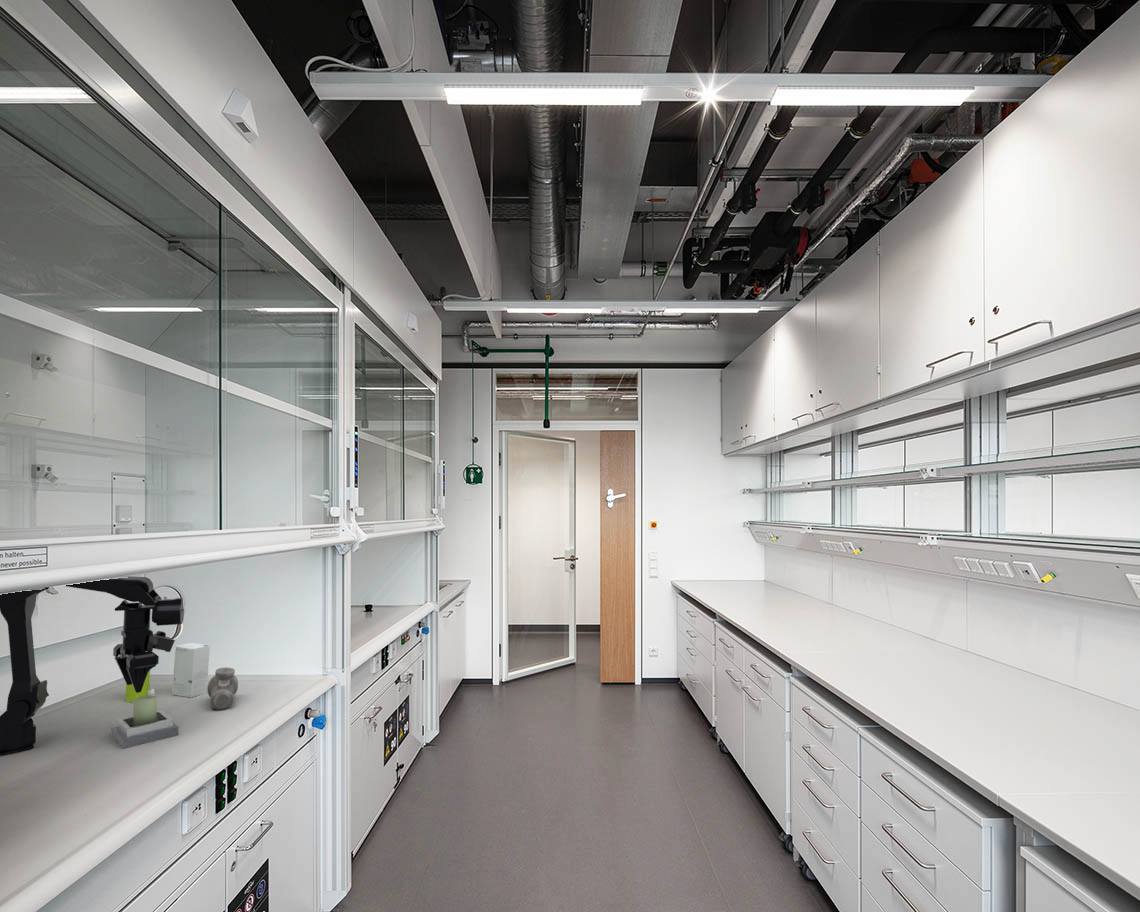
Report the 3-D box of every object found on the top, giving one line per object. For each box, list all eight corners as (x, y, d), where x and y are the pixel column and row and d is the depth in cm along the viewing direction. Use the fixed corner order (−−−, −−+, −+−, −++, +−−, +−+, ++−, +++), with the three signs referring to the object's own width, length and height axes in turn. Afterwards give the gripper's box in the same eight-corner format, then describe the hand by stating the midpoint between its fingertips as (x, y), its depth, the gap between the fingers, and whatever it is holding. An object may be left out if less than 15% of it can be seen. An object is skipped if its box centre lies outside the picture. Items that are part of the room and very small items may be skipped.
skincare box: (171, 695, 199) (172, 646, 200) (189, 689, 205) (190, 641, 206) (192, 698, 196) (193, 648, 197) (209, 692, 202) (210, 643, 203)
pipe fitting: (206, 698, 194) (210, 664, 194) (236, 697, 198) (240, 663, 198) (203, 716, 183) (207, 680, 183) (235, 714, 187) (239, 678, 187)
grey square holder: (122, 748, 158) (123, 731, 159) (110, 735, 167) (111, 719, 167) (178, 734, 167) (178, 719, 167) (164, 723, 175) (164, 708, 175)
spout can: (135, 731, 163) (136, 695, 164) (130, 726, 167) (131, 690, 167) (158, 726, 167) (159, 690, 167) (153, 721, 170) (154, 686, 171)
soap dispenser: (117, 701, 194) (119, 633, 195) (142, 694, 200) (143, 628, 201) (129, 704, 191) (130, 635, 192) (153, 697, 197) (155, 630, 198)
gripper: (182, 627, 168) (180, 689, 167) (162, 617, 181) (159, 675, 180) (131, 634, 160) (128, 699, 159) (114, 623, 173) (111, 683, 172)
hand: (133, 688), depth 168 cm, fingers open, 9 cm apart
